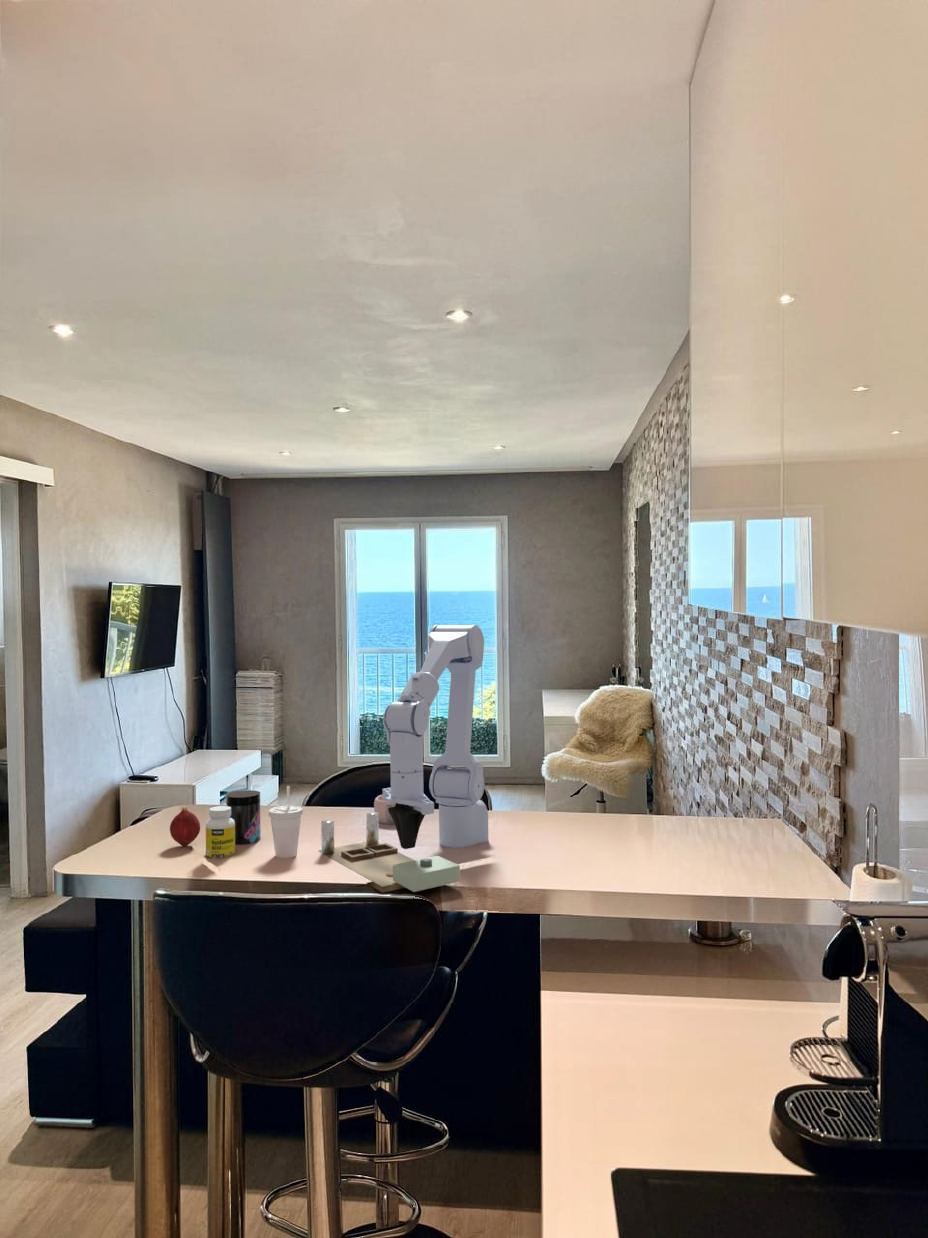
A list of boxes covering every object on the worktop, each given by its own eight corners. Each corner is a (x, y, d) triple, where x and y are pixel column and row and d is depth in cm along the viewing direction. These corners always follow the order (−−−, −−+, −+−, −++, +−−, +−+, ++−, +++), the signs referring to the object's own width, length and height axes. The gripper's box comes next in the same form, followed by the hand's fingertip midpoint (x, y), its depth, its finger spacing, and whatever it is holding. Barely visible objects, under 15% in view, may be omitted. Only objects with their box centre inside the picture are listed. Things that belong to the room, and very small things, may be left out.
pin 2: (373, 842, 167) (373, 812, 168) (381, 844, 166) (381, 813, 166) (363, 844, 166) (364, 813, 166) (371, 846, 164) (371, 815, 164)
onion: (205, 846, 170) (205, 806, 169) (179, 852, 165) (178, 811, 165) (191, 841, 174) (190, 802, 173) (164, 846, 169) (164, 807, 169)
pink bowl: (414, 830, 180) (414, 803, 180) (369, 829, 181) (369, 802, 181) (424, 816, 192) (424, 790, 192) (382, 815, 193) (381, 790, 193)
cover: (437, 871, 147) (437, 851, 147) (459, 881, 142) (459, 860, 142) (392, 880, 142) (392, 860, 142) (413, 892, 137) (413, 870, 137)
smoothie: (295, 866, 156) (294, 790, 155) (263, 864, 157) (262, 789, 157) (308, 856, 162) (307, 783, 162) (277, 854, 163) (276, 782, 163)
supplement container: (240, 851, 165) (239, 799, 165) (219, 846, 170) (219, 794, 169) (267, 844, 171) (267, 793, 170) (247, 838, 175) (246, 788, 175)
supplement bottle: (208, 865, 157) (208, 813, 157) (203, 857, 162) (202, 807, 161) (238, 861, 159) (237, 809, 159) (232, 853, 164) (231, 803, 164)
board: (373, 845, 169) (373, 836, 169) (443, 879, 147) (442, 869, 147) (317, 855, 162) (317, 846, 162) (382, 892, 140) (382, 882, 140)
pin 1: (331, 850, 162) (331, 819, 162) (336, 853, 160) (335, 822, 160) (319, 852, 161) (319, 821, 161) (324, 855, 159) (324, 824, 158)
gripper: (367, 766, 151) (368, 842, 151) (408, 780, 139) (409, 861, 139) (401, 762, 155) (402, 835, 155) (444, 774, 143) (445, 854, 143)
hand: (408, 847), depth 147 cm, fingers closed
